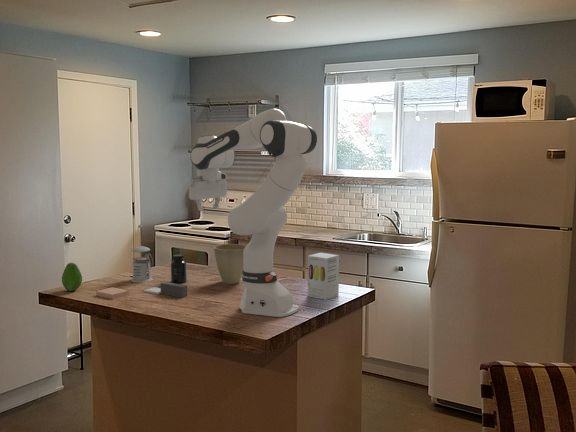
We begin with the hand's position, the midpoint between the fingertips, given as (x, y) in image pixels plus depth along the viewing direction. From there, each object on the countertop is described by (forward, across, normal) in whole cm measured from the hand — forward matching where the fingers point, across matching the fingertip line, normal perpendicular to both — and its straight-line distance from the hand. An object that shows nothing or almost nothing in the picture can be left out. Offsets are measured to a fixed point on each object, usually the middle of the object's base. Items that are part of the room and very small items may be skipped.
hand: (208, 209), depth 243 cm
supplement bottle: (+34, +5, +22) cm, 41 cm away
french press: (+34, -1, +38) cm, 51 cm away
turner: (+34, -13, +12) cm, 38 cm away
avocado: (+34, -31, +48) cm, 67 cm away
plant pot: (+34, +17, +2) cm, 38 cm away
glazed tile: (+33, -27, +23) cm, 49 cm away
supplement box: (+34, +18, -44) cm, 59 cm away
